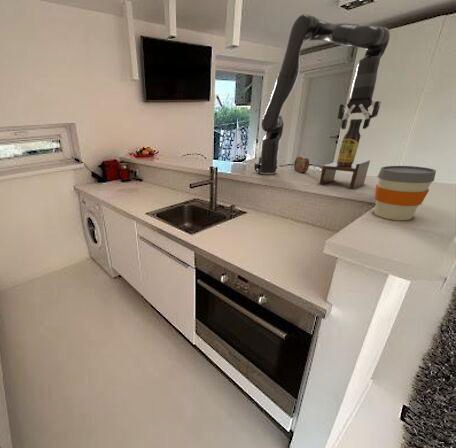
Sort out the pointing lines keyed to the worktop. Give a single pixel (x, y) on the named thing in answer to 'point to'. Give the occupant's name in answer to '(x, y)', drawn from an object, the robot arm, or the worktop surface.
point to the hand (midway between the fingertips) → (353, 128)
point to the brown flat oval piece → (301, 164)
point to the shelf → (357, 169)
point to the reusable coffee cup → (401, 190)
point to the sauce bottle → (350, 144)
